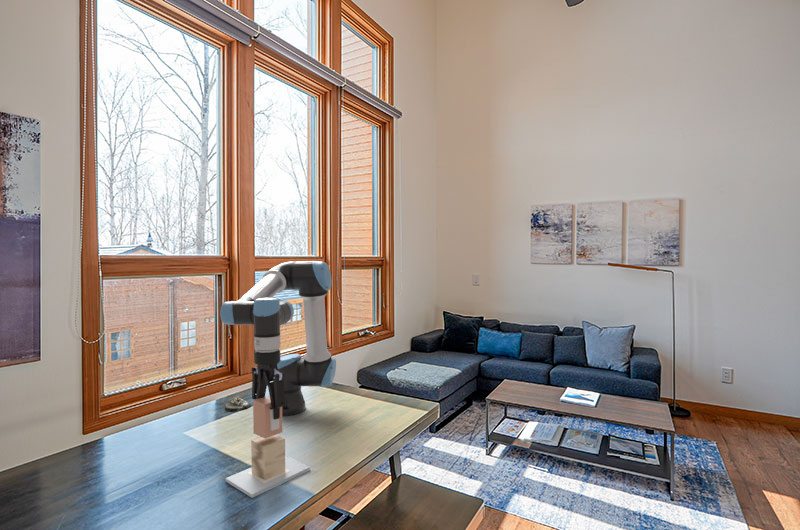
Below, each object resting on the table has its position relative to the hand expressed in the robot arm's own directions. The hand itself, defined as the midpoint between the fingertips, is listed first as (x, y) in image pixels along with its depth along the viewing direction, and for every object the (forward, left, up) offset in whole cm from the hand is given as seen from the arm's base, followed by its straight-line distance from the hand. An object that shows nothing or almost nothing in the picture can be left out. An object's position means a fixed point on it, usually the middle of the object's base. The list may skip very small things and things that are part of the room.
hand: (268, 426), depth 132 cm
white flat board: (0, 0, -15) cm, 15 cm away
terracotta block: (0, 0, -2) cm, 2 cm away
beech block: (0, 0, -14) cm, 14 cm away
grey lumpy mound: (-63, +26, -16) cm, 70 cm away
